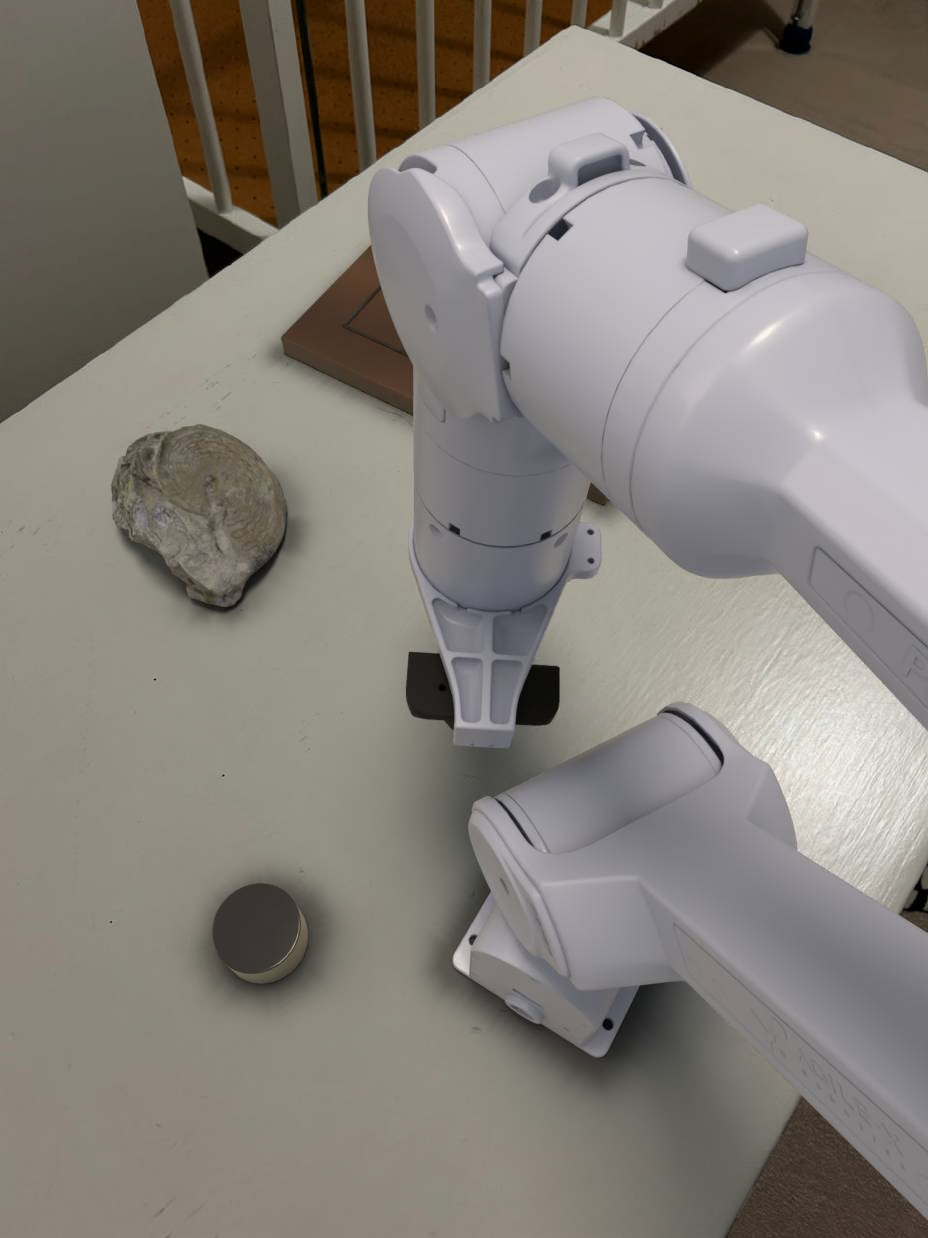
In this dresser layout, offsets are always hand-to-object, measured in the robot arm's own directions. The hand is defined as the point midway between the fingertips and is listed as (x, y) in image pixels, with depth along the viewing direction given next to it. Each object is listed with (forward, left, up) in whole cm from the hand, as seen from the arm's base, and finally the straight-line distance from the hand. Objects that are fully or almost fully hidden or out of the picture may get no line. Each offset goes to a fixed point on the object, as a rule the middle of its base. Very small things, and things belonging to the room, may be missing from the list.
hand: (477, 643), depth 44 cm
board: (+28, +13, -9) cm, 32 cm away
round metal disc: (-15, +3, -9) cm, 17 cm away
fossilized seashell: (+2, +21, -9) cm, 23 cm away
